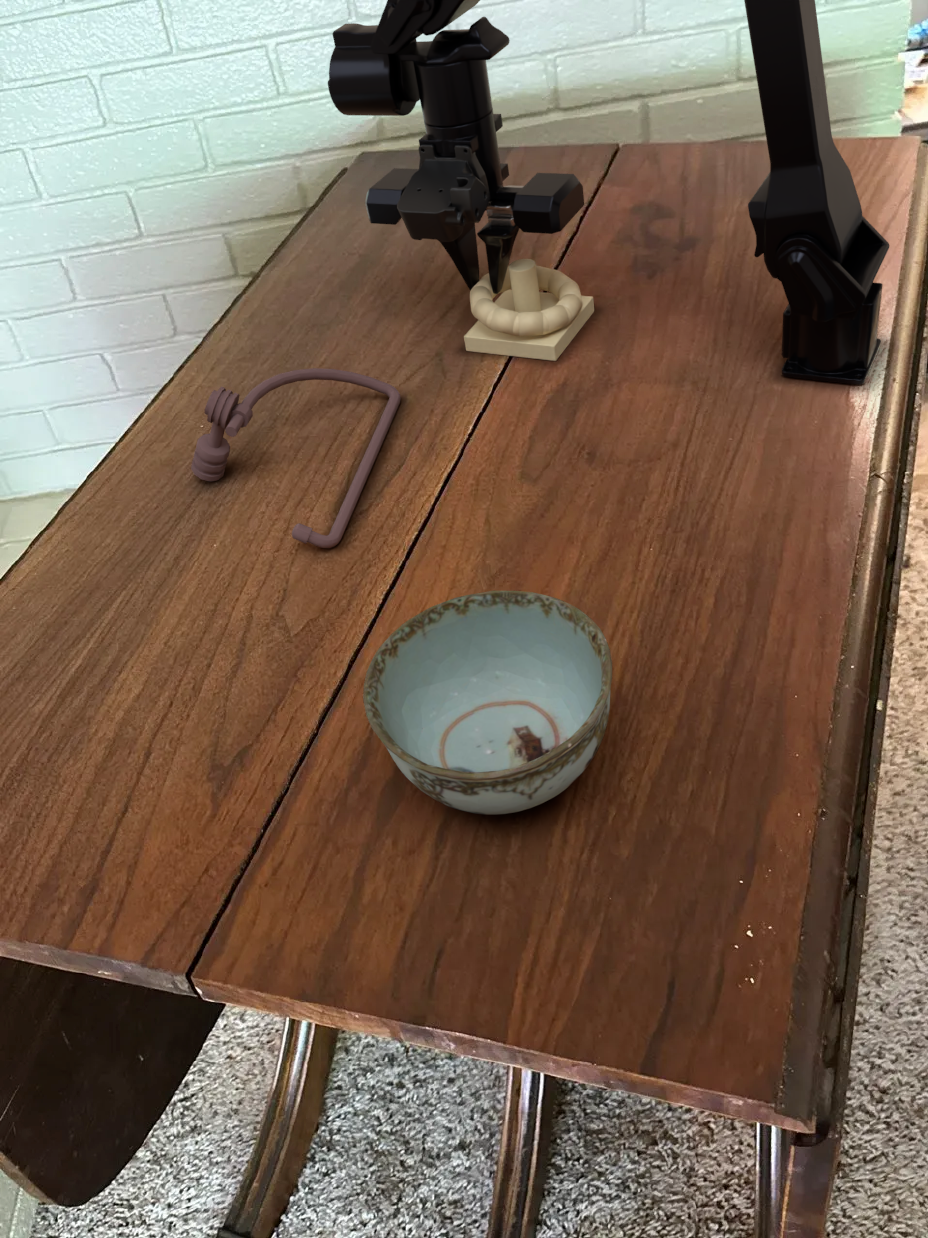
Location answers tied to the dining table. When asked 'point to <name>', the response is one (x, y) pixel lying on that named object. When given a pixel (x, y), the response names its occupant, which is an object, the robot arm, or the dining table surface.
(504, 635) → the bowl
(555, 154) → the dining table surface
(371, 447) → the toilet paper hanger
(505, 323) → the ring
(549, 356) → the peg stand
